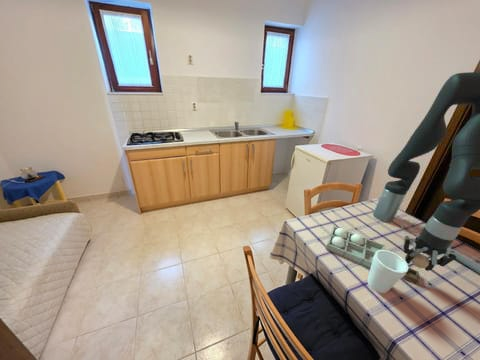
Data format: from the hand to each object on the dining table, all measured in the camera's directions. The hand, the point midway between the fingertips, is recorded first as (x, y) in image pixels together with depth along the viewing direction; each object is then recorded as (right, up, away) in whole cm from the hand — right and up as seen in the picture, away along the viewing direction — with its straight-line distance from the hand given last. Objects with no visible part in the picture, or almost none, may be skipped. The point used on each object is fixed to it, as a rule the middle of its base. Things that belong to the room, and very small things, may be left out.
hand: (416, 265), depth 73 cm
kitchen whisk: (+24, 0, +16) cm, 29 cm away
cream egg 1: (-19, +7, +18) cm, 27 cm away
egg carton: (-15, +1, +14) cm, 21 cm away
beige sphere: (0, +2, -1) cm, 3 cm away
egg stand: (0, -5, +3) cm, 6 cm away
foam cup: (-15, -7, -1) cm, 17 cm away
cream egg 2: (-23, +4, +13) cm, 27 cm away
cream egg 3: (-13, +5, +15) cm, 21 cm away
